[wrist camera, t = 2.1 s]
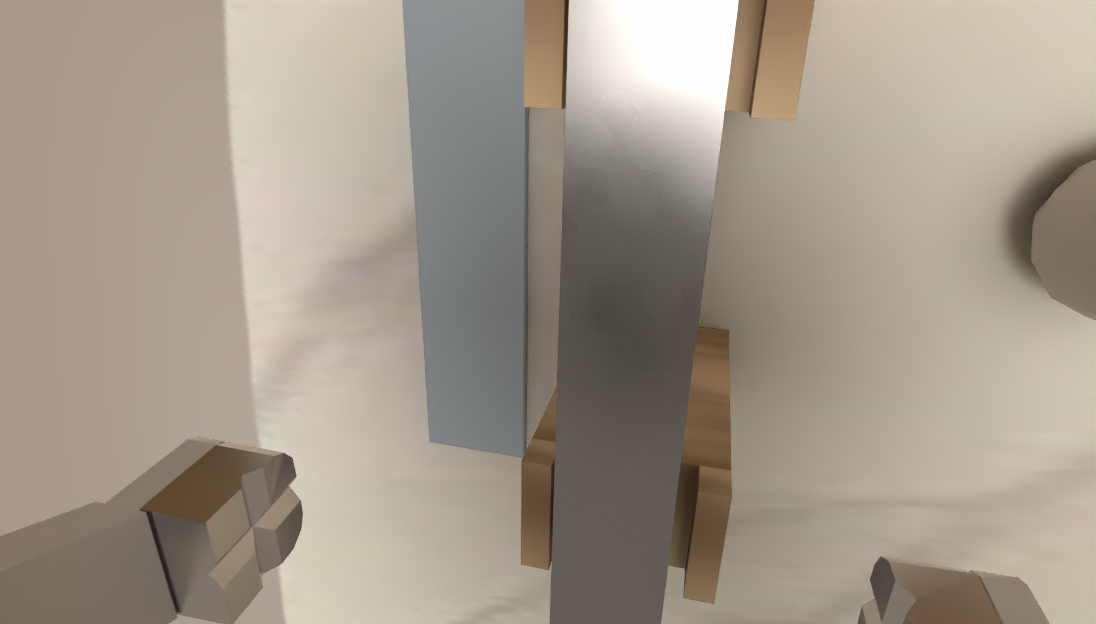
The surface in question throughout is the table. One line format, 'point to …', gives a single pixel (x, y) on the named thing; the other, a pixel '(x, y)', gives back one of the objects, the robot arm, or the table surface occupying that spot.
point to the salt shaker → (1069, 241)
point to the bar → (631, 290)
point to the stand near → (755, 71)
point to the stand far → (698, 485)
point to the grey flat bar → (471, 215)
